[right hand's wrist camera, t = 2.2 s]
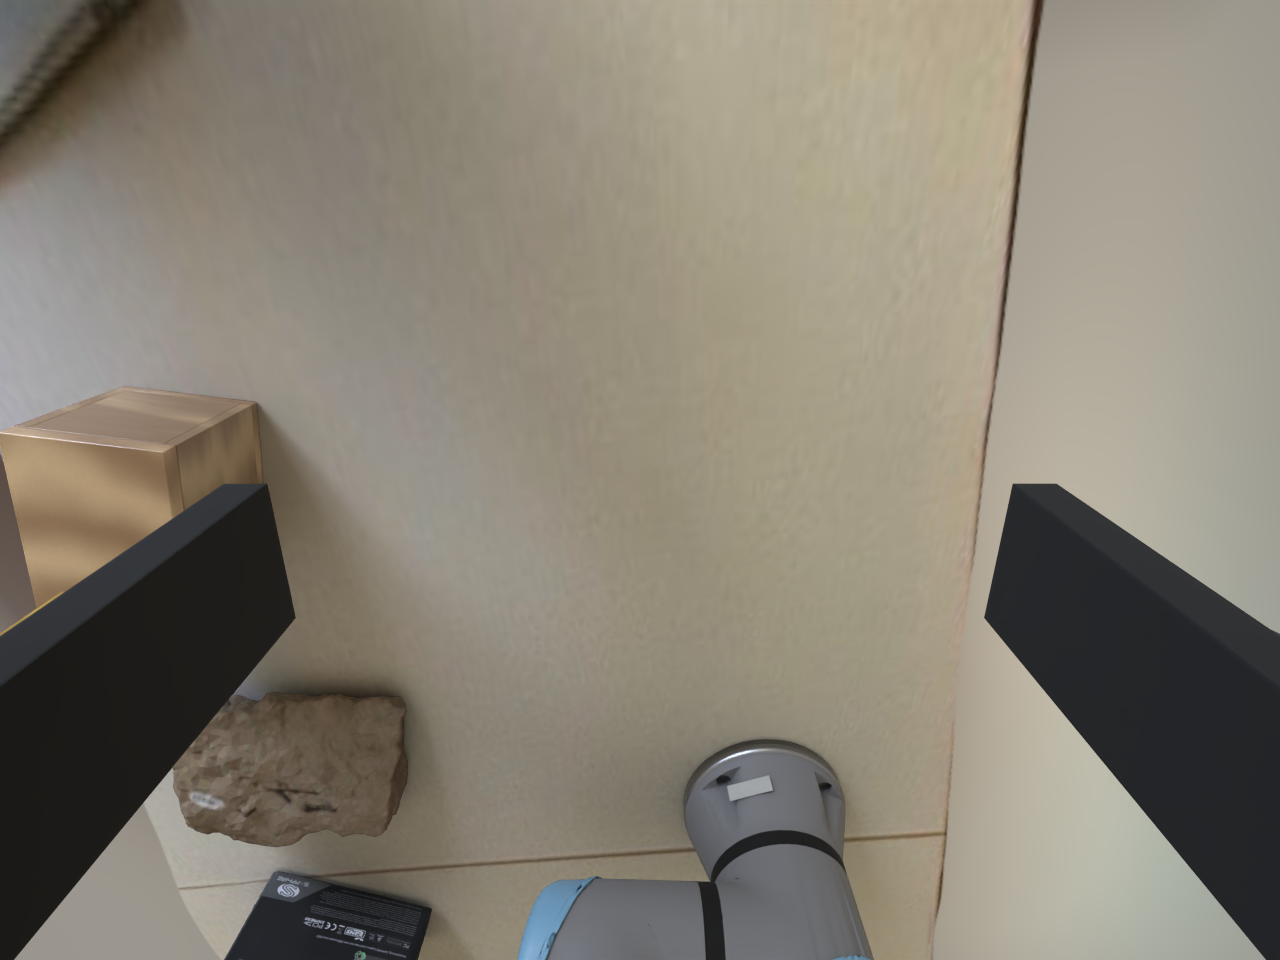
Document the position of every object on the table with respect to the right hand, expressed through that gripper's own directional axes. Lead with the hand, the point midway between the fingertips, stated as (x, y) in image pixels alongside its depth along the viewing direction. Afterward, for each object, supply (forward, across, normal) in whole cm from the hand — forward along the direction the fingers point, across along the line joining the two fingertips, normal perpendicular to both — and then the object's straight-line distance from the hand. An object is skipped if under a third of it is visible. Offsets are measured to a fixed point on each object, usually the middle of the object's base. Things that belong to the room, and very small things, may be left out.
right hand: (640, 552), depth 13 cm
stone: (+41, +32, +41) cm, 66 cm away
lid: (+31, +35, +15) cm, 49 cm away
